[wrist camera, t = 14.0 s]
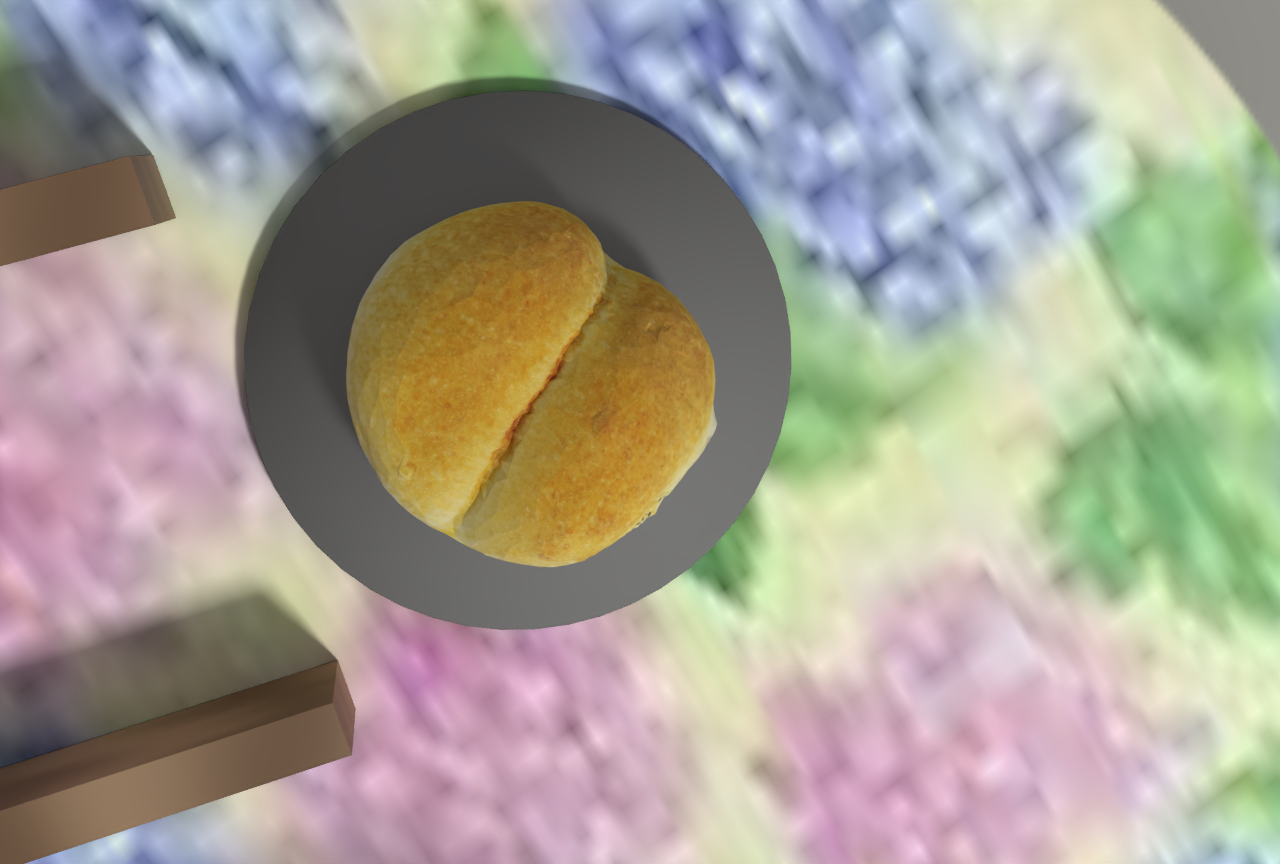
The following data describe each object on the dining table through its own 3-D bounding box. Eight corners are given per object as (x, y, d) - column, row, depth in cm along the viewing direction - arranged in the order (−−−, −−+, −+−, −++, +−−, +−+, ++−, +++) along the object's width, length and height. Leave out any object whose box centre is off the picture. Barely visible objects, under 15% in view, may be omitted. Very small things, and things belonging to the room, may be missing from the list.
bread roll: (472, 139, 28) (483, 137, 25) (746, 354, 31) (795, 383, 27) (272, 409, 29) (253, 449, 25) (558, 598, 32) (581, 660, 28)
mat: (349, 692, 31) (348, 697, 31) (160, 176, 27) (158, 176, 27) (834, 535, 33) (838, 539, 33) (721, 28, 29) (724, 27, 29)
